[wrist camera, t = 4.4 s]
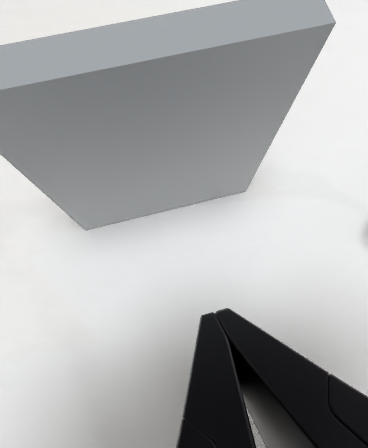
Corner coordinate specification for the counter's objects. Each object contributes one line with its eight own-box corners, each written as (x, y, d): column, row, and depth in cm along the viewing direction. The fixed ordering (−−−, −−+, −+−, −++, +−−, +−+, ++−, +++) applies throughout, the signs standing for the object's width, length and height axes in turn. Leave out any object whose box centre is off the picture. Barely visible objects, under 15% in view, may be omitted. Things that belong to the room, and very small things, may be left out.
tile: (245, 191, 23) (336, 22, 10) (85, 230, 22) (-59, 101, 9) (238, 170, 24) (314, -19, 10) (81, 207, 23) (-62, 51, 9)
